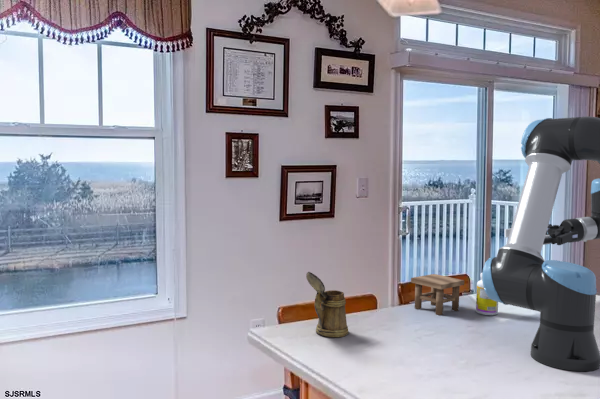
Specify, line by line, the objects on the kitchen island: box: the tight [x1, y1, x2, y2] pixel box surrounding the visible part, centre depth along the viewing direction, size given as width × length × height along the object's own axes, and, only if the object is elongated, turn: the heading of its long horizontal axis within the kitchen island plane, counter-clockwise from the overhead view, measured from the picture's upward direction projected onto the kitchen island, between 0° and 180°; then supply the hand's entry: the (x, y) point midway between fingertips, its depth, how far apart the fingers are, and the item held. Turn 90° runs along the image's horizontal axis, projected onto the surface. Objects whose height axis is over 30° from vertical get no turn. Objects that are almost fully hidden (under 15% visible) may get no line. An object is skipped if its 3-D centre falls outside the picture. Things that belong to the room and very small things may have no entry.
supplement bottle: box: [475, 271, 499, 316], centre depth 168 cm, size 7×7×13 cm
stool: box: [410, 273, 465, 316], centre depth 172 cm, size 12×12×10 cm
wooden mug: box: [306, 271, 349, 339], centre depth 143 cm, size 9×14×18 cm, turn 128°
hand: (516, 237), depth 167 cm, fingers open, 13 cm apart
